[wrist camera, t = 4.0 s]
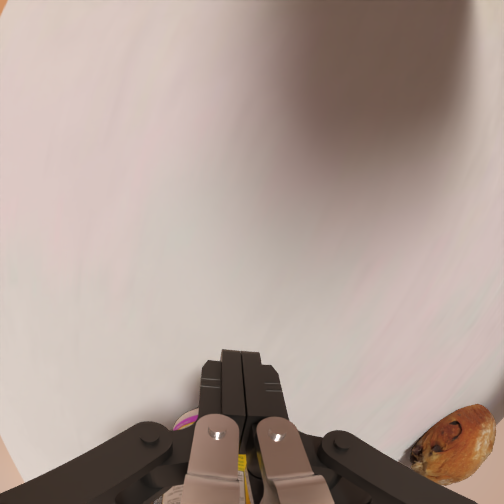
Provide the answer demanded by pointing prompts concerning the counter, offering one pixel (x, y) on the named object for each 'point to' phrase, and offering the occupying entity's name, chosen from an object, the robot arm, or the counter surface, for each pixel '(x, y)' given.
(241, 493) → the supplement bottle
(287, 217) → the counter surface
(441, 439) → the bread roll
